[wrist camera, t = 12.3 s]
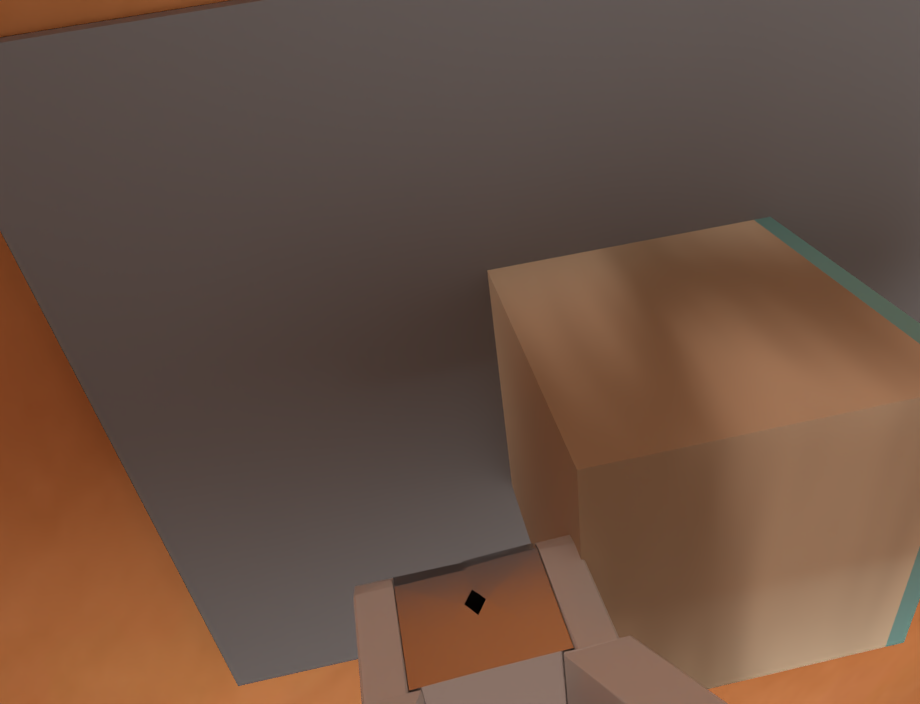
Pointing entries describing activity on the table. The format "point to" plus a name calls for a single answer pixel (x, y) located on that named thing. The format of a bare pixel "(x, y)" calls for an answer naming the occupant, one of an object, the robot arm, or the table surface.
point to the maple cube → (719, 443)
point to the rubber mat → (401, 244)
